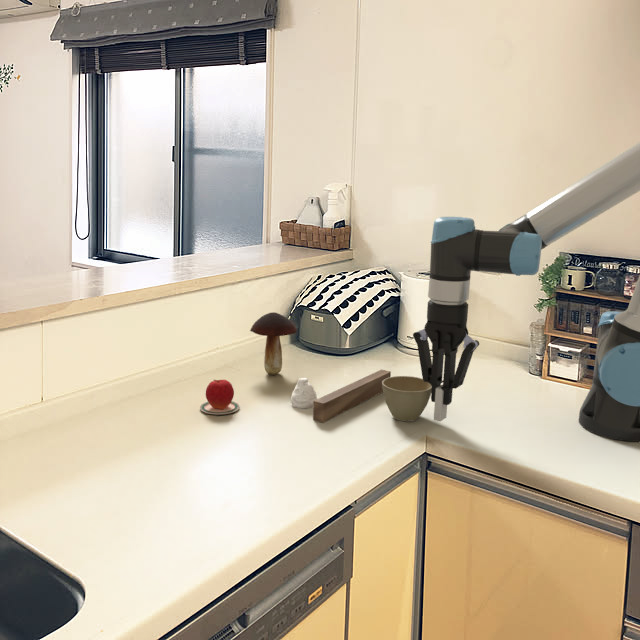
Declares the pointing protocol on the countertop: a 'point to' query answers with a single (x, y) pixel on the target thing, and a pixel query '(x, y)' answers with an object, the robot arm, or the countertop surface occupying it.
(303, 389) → the garlic bulb
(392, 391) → the flower pot
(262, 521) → the countertop surface
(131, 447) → the countertop surface
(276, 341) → the decorative mushroom
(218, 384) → the apple
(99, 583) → the countertop surface
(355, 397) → the board
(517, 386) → the countertop surface
